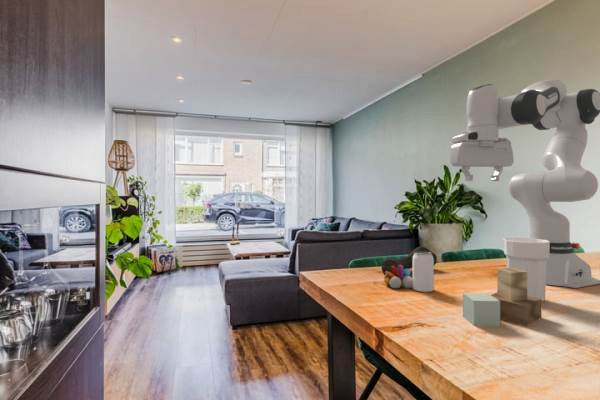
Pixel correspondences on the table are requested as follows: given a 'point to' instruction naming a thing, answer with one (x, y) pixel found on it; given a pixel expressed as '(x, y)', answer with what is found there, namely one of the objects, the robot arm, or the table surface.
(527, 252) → the cup
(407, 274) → the colorful ball cluster
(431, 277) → the can
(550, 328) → the table surface
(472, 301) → the sage block
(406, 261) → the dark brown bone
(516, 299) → the oak block
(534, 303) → the walnut block
